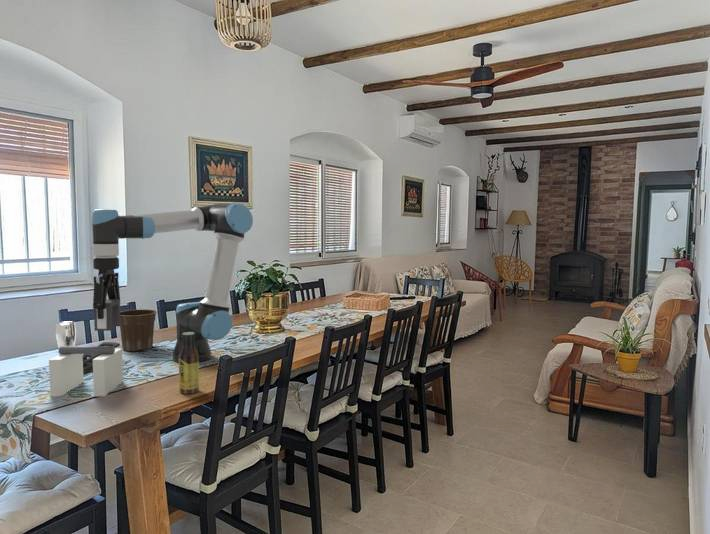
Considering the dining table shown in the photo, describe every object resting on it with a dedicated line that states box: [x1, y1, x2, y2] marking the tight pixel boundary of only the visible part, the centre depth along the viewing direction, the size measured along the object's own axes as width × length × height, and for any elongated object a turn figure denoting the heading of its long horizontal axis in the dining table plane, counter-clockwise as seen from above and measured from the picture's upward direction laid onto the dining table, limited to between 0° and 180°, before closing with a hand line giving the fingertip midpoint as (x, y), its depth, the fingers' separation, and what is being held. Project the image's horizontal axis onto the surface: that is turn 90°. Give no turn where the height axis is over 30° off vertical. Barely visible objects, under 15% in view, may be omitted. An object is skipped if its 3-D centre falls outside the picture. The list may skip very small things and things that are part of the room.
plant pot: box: [119, 309, 158, 352], centre depth 217 cm, size 16×16×16 cm
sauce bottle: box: [178, 332, 200, 395], centre depth 163 cm, size 7×6×20 cm
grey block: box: [93, 298, 121, 332], centre depth 163 cm, size 5×8×9 cm, turn 4°
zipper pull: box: [83, 341, 121, 375], centre depth 190 cm, size 9×7×25 cm
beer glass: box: [55, 320, 77, 348], centre depth 198 cm, size 7×7×15 cm
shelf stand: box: [48, 345, 124, 397], centre depth 165 cm, size 17×14×14 cm
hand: (107, 325), depth 163 cm, fingers closed on grey block, 8 cm apart
